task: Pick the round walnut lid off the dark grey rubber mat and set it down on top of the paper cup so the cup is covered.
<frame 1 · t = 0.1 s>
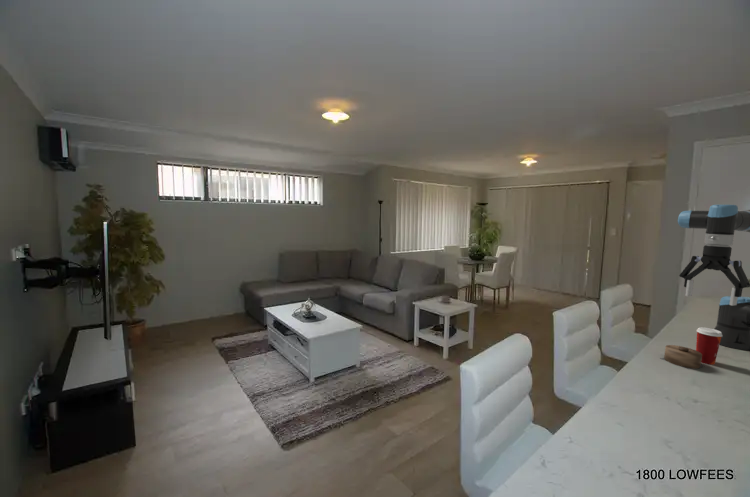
hand: (709, 300, 129), 28 cm above the counter, fingers open, 13 cm apart
lid: (681, 362, 136), point 1 cm above the counter, touching mat
paper cup: (704, 363, 138), on the counter
mat: (681, 363, 136), on the counter
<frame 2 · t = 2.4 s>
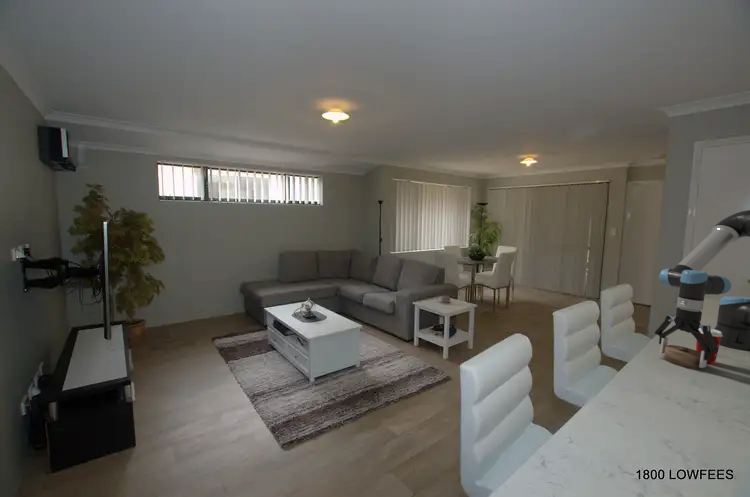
hand: (681, 359, 136), 2 cm above the counter, fingers open, 13 cm apart
nothing on the counter moved.
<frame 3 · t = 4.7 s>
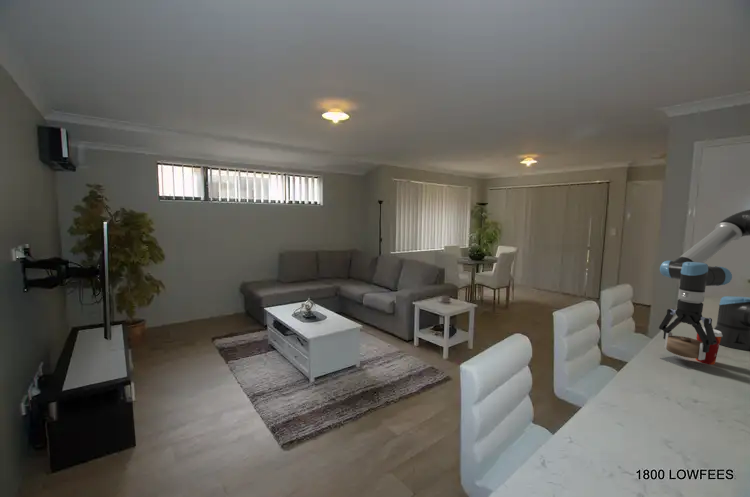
hand: (683, 353, 136), 4 cm above the counter, fingers closed on lid, 11 cm apart
lid: (684, 352, 136), point 5 cm above the counter, touching gripper
everything else where it was.
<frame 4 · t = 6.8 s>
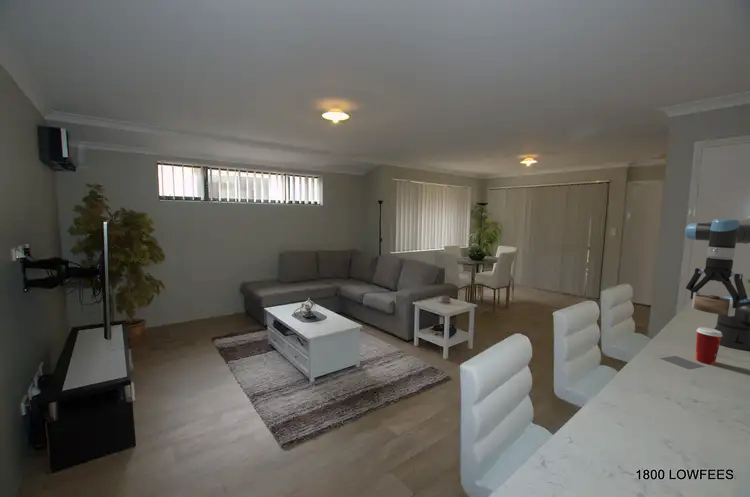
hand: (712, 311, 136), 22 cm above the counter, fingers closed on lid, 11 cm apart
lid: (712, 310, 136), point 22 cm above the counter, touching gripper
everything else where it was.
when the fingers open (14 cm above the counter, at t = 9.1 s): lid stays where it is, resting on paper cup.
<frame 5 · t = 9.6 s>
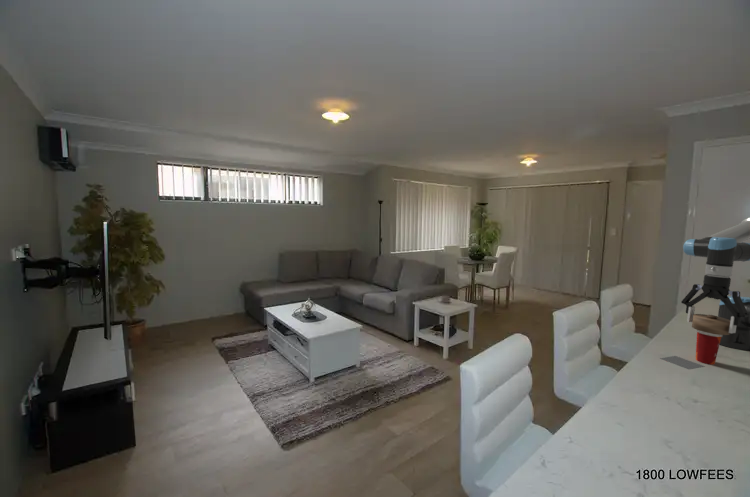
hand: (709, 327, 136), 15 cm above the counter, fingers open, 13 cm apart
lid: (710, 330, 136), point 14 cm above the counter, touching paper cup
paper cup: (704, 363, 138), on the counter, touching lid
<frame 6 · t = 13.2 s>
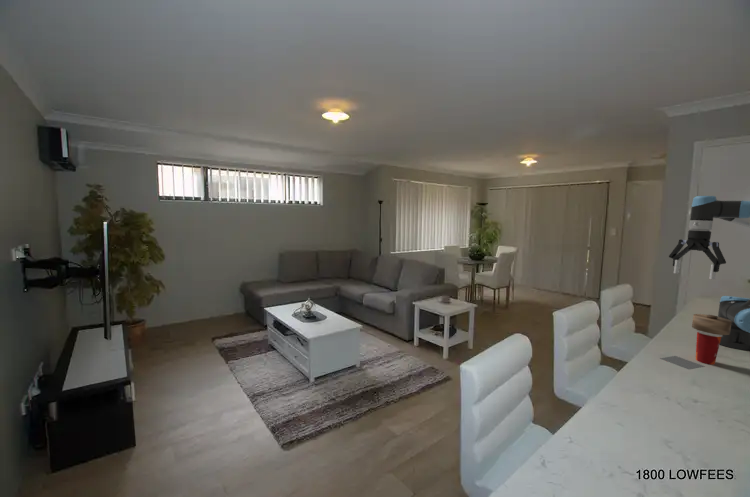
hand: (693, 276, 155), 33 cm above the counter, fingers open, 13 cm apart
nothing on the counter moved.
at the end: lid 0.2 cm from the paper cup (horizontally); lid point 14.0 cm above the counter; paper cup tilted 0° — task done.
